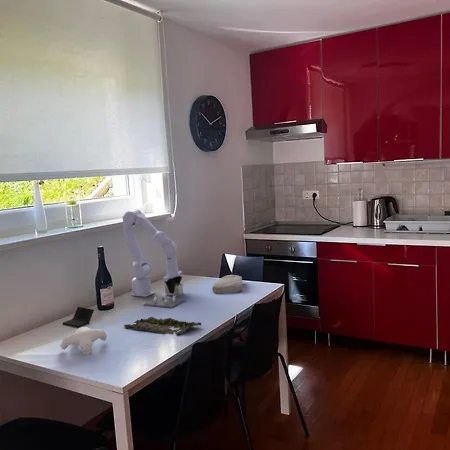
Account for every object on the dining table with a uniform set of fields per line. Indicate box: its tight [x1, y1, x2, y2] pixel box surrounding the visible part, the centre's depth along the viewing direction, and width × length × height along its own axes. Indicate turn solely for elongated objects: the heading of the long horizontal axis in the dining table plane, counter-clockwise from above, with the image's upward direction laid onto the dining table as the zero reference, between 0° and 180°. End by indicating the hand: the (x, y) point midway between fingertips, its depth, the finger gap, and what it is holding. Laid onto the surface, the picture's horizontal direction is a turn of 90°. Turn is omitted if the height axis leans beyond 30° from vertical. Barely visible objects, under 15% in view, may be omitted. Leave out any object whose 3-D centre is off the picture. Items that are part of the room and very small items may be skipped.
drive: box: [164, 282, 184, 297], centre depth 239 cm, size 8×4×6 cm, turn 62°
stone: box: [211, 274, 244, 295], centre depth 245 cm, size 21×15×5 cm
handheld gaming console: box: [62, 306, 95, 329], centre depth 205 cm, size 12×7×10 cm
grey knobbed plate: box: [143, 294, 187, 309], centre depth 225 cm, size 16×12×3 cm
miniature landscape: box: [123, 316, 202, 336], centre depth 191 cm, size 32×12×3 cm, turn 62°
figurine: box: [60, 326, 108, 356], centre depth 174 cm, size 17×9×18 cm
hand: (174, 291), depth 239 cm, fingers closed on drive, 4 cm apart
